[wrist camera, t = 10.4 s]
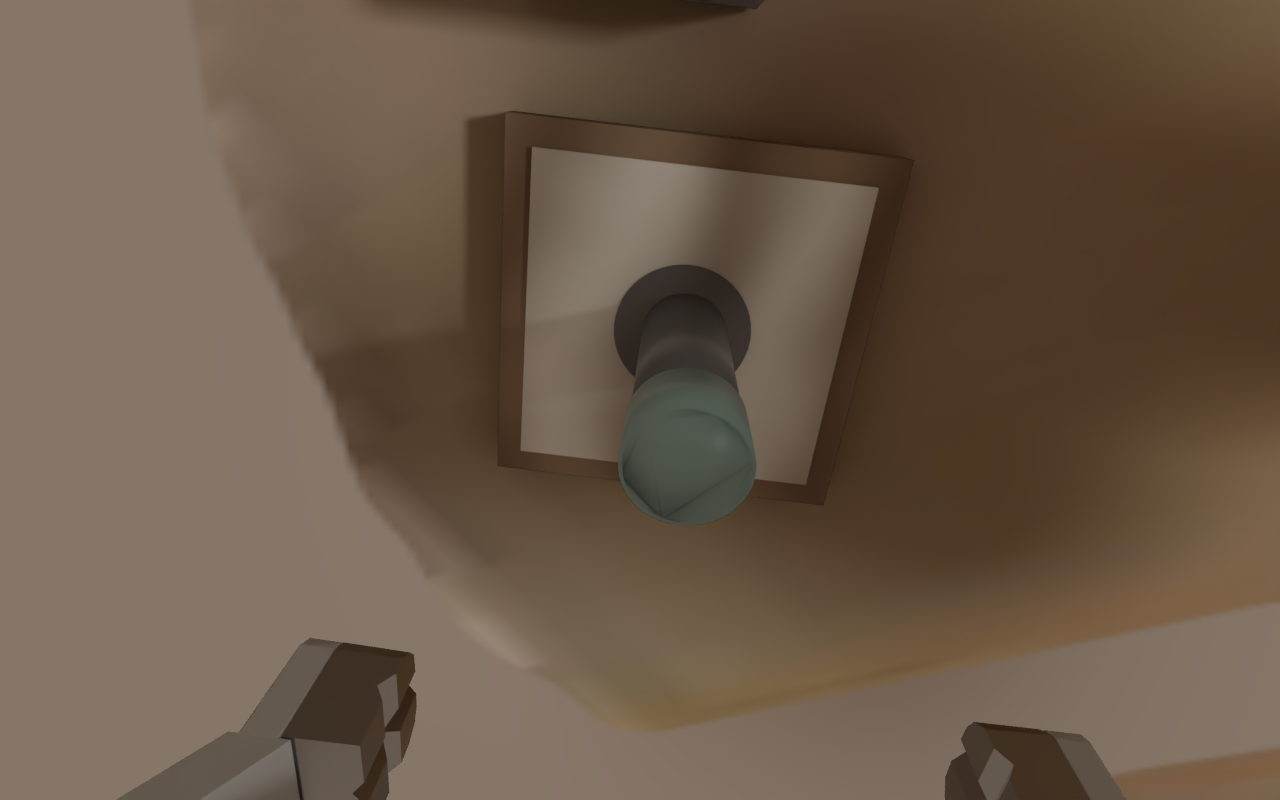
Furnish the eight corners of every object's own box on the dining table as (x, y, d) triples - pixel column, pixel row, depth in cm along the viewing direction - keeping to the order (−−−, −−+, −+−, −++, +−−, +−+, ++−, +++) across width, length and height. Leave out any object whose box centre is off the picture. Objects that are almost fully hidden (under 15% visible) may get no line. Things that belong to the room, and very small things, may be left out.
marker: (736, 296, 25) (768, 414, 16) (721, 381, 26) (743, 532, 17) (644, 285, 25) (625, 397, 16) (635, 370, 26) (612, 516, 17)
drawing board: (903, 157, 24) (916, 161, 23) (818, 490, 30) (824, 508, 29) (512, 110, 24) (503, 112, 23) (504, 452, 30) (495, 469, 29)
